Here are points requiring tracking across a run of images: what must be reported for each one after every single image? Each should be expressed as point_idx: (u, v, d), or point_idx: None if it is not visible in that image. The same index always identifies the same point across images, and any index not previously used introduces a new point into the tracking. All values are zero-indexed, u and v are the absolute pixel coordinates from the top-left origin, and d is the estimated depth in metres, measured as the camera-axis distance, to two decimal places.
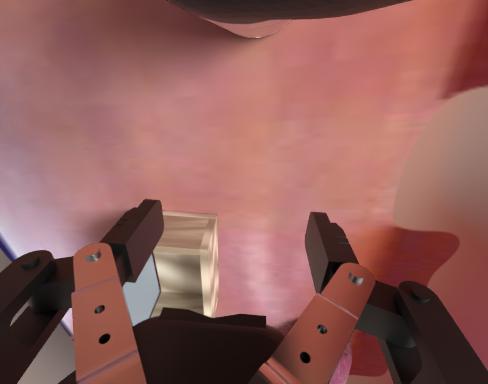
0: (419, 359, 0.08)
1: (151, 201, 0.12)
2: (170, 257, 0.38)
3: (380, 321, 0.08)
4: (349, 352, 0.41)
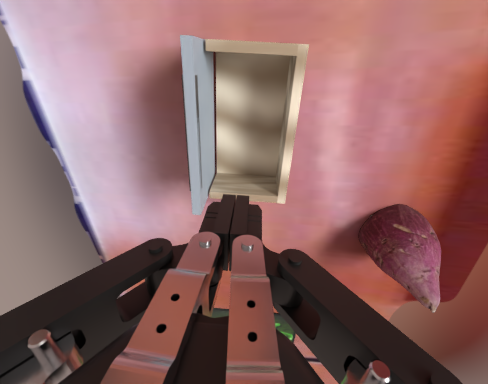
0: (309, 308, 0.09)
1: (230, 196, 0.13)
2: (235, 115, 0.33)
3: None
4: (438, 240, 0.35)
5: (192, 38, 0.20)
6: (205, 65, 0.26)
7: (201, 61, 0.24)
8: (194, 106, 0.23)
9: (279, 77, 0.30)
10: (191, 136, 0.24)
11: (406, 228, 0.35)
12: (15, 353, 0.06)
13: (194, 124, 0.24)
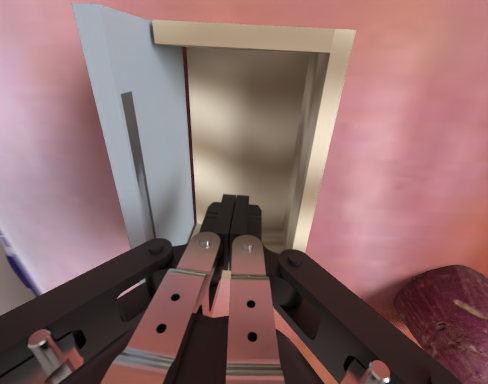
0: (309, 308, 0.09)
1: (230, 195, 0.13)
2: (221, 145, 0.21)
3: None
4: None
5: (102, 11, 0.09)
6: (160, 70, 0.14)
7: (145, 63, 0.12)
8: (126, 154, 0.11)
9: (290, 88, 0.19)
10: (128, 206, 0.13)
11: (476, 310, 0.24)
12: (15, 353, 0.06)
13: (131, 185, 0.12)
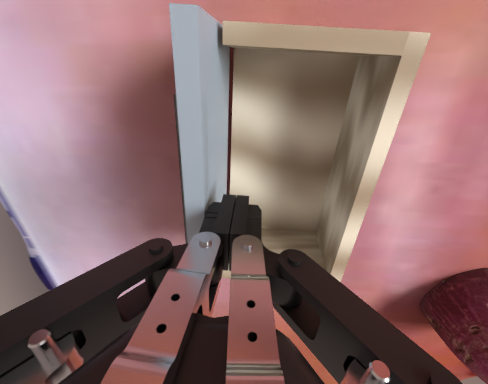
0: (309, 308, 0.09)
1: (230, 196, 0.13)
2: (260, 147, 0.21)
3: None
4: None
5: (198, 12, 0.09)
6: (219, 72, 0.14)
7: (214, 65, 0.12)
8: (200, 158, 0.11)
9: (336, 90, 0.18)
10: (193, 209, 0.13)
11: None
12: (15, 353, 0.06)
13: (199, 189, 0.12)
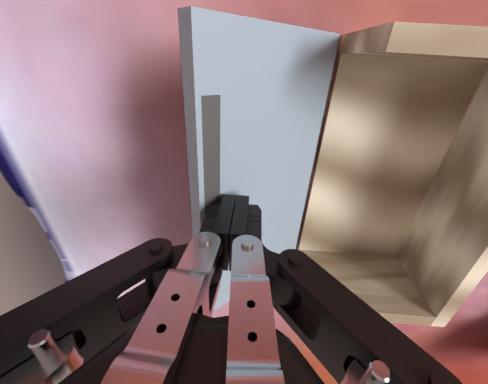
0: (309, 308, 0.09)
1: (230, 196, 0.13)
2: (351, 165, 0.18)
3: None
4: None
5: (195, 13, 0.09)
6: (279, 77, 0.13)
7: (254, 68, 0.11)
8: (196, 155, 0.11)
9: (454, 102, 0.16)
10: (194, 203, 0.13)
11: None
12: (15, 353, 0.06)
13: (196, 185, 0.12)
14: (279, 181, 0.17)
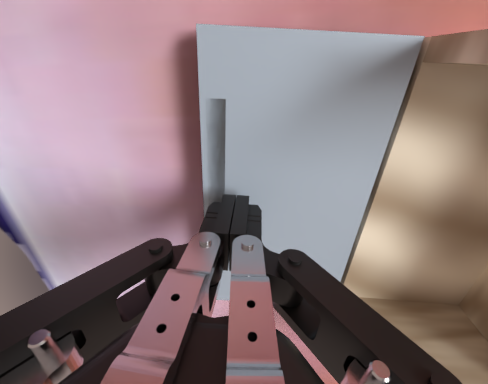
0: (309, 308, 0.09)
1: (230, 196, 0.13)
2: (417, 201, 0.15)
3: None
4: None
5: (200, 29, 0.11)
6: (304, 88, 0.12)
7: (267, 76, 0.11)
8: (201, 148, 0.13)
9: None
10: None
11: None
12: (15, 353, 0.06)
13: (202, 175, 0.14)
14: (306, 203, 0.15)
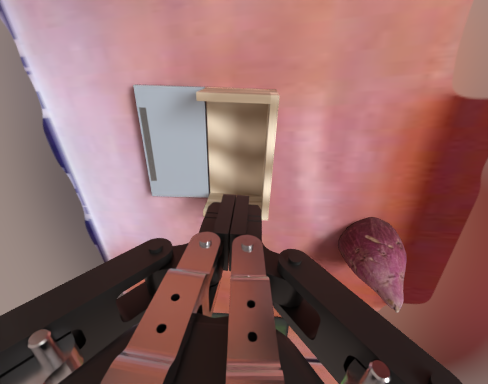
0: (309, 308, 0.09)
1: (230, 195, 0.13)
2: (224, 144, 0.38)
3: None
4: None
5: (134, 86, 0.34)
6: (171, 103, 0.35)
7: (158, 100, 0.35)
8: (140, 125, 0.37)
9: (260, 114, 0.36)
10: None
11: (375, 239, 0.40)
12: (15, 353, 0.06)
13: None
14: (183, 146, 0.39)
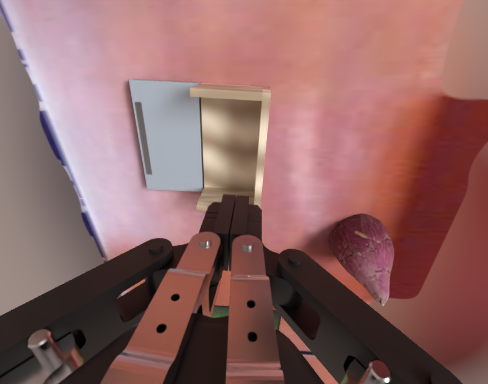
0: (309, 308, 0.09)
1: (230, 196, 0.13)
2: (218, 140, 0.39)
3: None
4: (392, 244, 0.42)
5: (130, 81, 0.35)
6: (166, 98, 0.36)
7: (153, 95, 0.36)
8: (135, 119, 0.38)
9: (253, 111, 0.36)
10: None
11: (364, 235, 0.41)
12: (15, 353, 0.06)
13: None
14: (177, 141, 0.39)
